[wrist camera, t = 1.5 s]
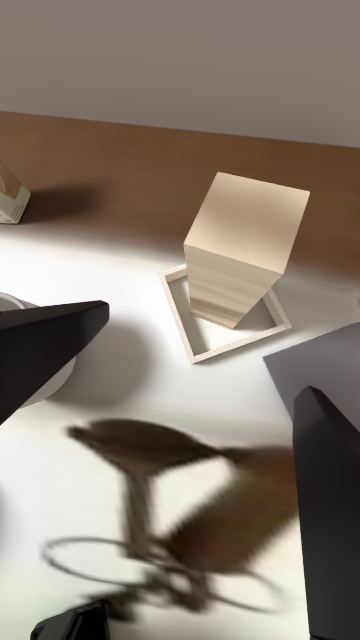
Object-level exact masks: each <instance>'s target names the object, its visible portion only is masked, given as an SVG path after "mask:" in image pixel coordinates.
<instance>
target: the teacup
mask: <svg viewBox="0 0 360 640" xmlns="http://www.w3.org/2000/svg"><path fill="white" fill-rule="evenodd" d="M34 307H40V306H37V305H34V304H32V303H29V302H26V301H23V300H19V299H17V298H15V297H13V296H11V295H9V294H6V293H2V292H0V311H7V310H16V309H25V308H34ZM76 358H77V355H76V356H75V357H74V358H73V359H72V360H71V361H70V362H69V363H67V364H66V365H65V366H64V367H63V368H62V369H61V370H60V371H59V372H58V373H57V374H56V375H54V376H53V377H52V378H51V379H50V380H49V381H48V382H47V383H46V384H45V385H44V386H43V387H41V388H40V389H39V390H38V391H37V392H36V393H35V394H34V395H33V396H32V397H31V398H30V399H28V400H27V401H26V402H25V403H24V404H23V405H22V406H21V407H20V408H23V407H26V406H29V405H32V404H34V403H37V402H39V401H41V400H43V399H45V398H47V397H49V396H50V395H52V394H53V393H54V392H56V391H57V390H58V389H59V388H60V387H61V386H62V385H63V384H64V383H65V382H66V380H67V379H68V377H69V376H70V374H71V372H72V370H73V368H74V365H75V362H76ZM20 408H19V409H20Z"/></svg>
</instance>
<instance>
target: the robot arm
mask: <svg viewBox="0 0 360 640" xmlns="http://www.w3.org/2000/svg"><path fill="white" fill-rule="evenodd" d="M108 321H109V304H108V303H106V302H104V301H101V300H97V301H88V302H79V303H70V304H61V305H52V306H43V307H34V308H25V309H16V310H7V311H0V425H1V424H2V423H4V422H5V421H6V420H7V419H8V418H9V417H10V416H11V415H12V414H13V413H14V412H15V411H17V410H18V409H19V408H20V407H21V406H22V405H23V404H24V403H25V402H26V401H27V400H28V399H30V398H31V397H32V396H33V395H34V394H35V393H36V392H37V391H38V390H39V389H40V388H41V387H43V386H44V385H45V384H46V383H47V382H48V381H49V380H50V379H51V378H52V377H53V376H54V375H56V374H57V373H58V372H59V371H60V370H61V369H62V368H63V367H64V366H65V365H66V364H67V363H69V362H70V361H71V360H72V359H73V358H74V357H75V356H76V355H77V354H78V353H79V352H80V351H82V350H83V349H84V348H85V347H86V346H87V345H88V344H89V343H90V342H91V341H92V339H93V338H94V337H95V336H96V335H97V334H98V333H99V331H100V330H101V329H102V328H103V327H104V326H105V325H106V324H107V322H108ZM293 452H294V464H295V475H296V486H297V498H298V509H299V521H300V532H301V543H302V555H303V566H304V577H305V589H306V600H307V611H308V623H309V633H310V640H360V432H359V431H358V430H357V429H356V428H355V427H354V425H353V424H352V423H351V422H350V421H349V420H348V419H347V418H346V417H345V416H344V415H343V413H342V412H341V411H340V410H339V409H338V408H337V407H336V406H335V405H334V404H333V403H332V401H331V400H330V399H329V398H328V397H327V396H326V395H325V394H324V393H323V392H322V391H321V390H320V389H318V388H315V387H313V386H310V385H308V386H306V387H305V388H304V389H303V390H302V391H301V392H300V393H299V394H298V395H297V396H296V397H295V399H294V403H293ZM97 611H99V613H98V612H97ZM30 640H110V636H109V630H108V624H107V618H106V612H105V606H104V604H103V602H102V601H97V602H94V603H91V604H88V605H86V606H83V607H80V608H77V609H74V610H71V611H68V612H66V613H63V614H60V615H57V616H55V617H52V618H50V619H47V620H44V621H42V622H39V623H38V624H37V625H36V626H35V628H34V629H33V631H32V633H31V636H30Z"/></svg>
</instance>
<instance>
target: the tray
mask: <svg viewBox="0 0 360 640" xmlns="http://www.w3.org/2000/svg"><path fill="white" fill-rule="evenodd" d="M158 274H159V277H160V280H161V282H162V285H163V288H164V291H165V294H166V296H167V299H168V302H169V305H170V308H171V310H172V313H173V316H174V319H175V322H176V324H177V327H178V330H179V333H180V336H181V338H182V341H183V344H184V347H185V350H186V352H187V355H188V358H189V361H190V364H194V363H196V362H199V361H202V360H205V359H207V358H210V357H213V356H216V355H218V354H221V353H224V352H227V351H229V350H232V349H235V348H237V347H240V346H243V345H246V344H248V343H251V342H254V341H257V340H259V339H262V338H265V337H268V336H270V335H273V334H276V333H279V332H281V331H284V330H286V329H289V328H291V327H293V326H292V324H291V322H290V321H289V319H288V317H287V315H286V313H285V311H284V310H283V308H282V306H281V304H280V302H279V300H278V299H277V297H276V295H275V293H274V291H273V290H272V288H270V289H269V290H268V291H267V292H266V293H265V294H264V295H263V297H262V299H263V301H264V303H265V305H266V307H267V309H268V311H269V312H270V314H271V316H272V318H273V320H274V322H275V324H276V327H274V328H271V329H268V330H265V331H263V332H260V333H257V334H254V335H252V336H249V337H246V338H243V339H241V340H238V341H235V342H233V343H230V344H227V345H224V346H222V347H219V348H216V349H213V350H211V351H208V352H205V353H202V354H200V355H197V356H194V355H193V352H192V349H191V347H190V344H189V341H188V339H187V336H186V333H185V330H184V328H183V325H182V322H181V319H180V317H179V314H178V311H177V309H176V306H175V303H174V300H173V298H172V295H171V292H170V289H169V287H168V284H167V283H168V282H170V281H173V280H176V279H179V278H181V277H184V276H187V269H186V263H185V264H183V265H180V266H177V267H174V268H172V269H169V270H166V271H164V273H163V272H161V273H158ZM164 275H165V276H164ZM165 278H166V279H165ZM194 357H195V358H194Z"/></svg>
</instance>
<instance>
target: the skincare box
mask: <svg viewBox="0 0 360 640" xmlns="http://www.w3.org/2000/svg"><path fill="white" fill-rule="evenodd" d="M30 196H31V193H30V192H29V191H28V190H27V189H26V188H25V187H24V186H23V185H22V184H21V183H20V182H19V180H18V179H17V178H16V177H15V176H14V175H13V174H12V173H11V172H10V171H9V170H8V169H7V168H6V167H5V166H4V165H3V163H2V162H1V161H0V223H16V224H17V223H18V222H19V220H20V218H21V216H22V214H23V212H24V209H25V207H26V205H27V203H28V201H29V198H30Z"/></svg>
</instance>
